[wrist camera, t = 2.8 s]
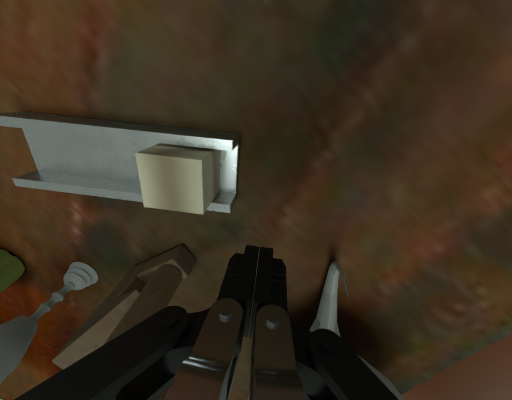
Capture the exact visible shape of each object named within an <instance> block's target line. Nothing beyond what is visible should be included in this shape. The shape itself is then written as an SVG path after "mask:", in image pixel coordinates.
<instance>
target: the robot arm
mask: <svg viewBox="0 0 512 400" xmlns="http://www.w3.org/2000/svg"><path fill="white" fill-rule="evenodd" d="M258 252H259V247H257V246H250V245H246V248H245V253H244V254H238V253H235V254H234V255H233V256H232V257H231V258H230V260H229V263H228V267H227V270H226V274H225V276H224V279H223V283H222V286H221V289H220V292H219V296H218V298H217V301H216V302H215V303H214V304H213V305H212V306H211V307H210V308H208V309H206V310H204V311H201V312H195V313H189V314H188V313H187V311H186V310H185V309H184V308H182V307H180V306H168V307H165V308H163V309H161V310H160V311H158V312H156V313H155V314H153V315H152V316H150V317H148V318H147V319H145V320H143V321H142V322H140V323H138V324H137V325H135V326H134V327H132V328H130V329H129V330H127V331H125V332H124V333H122V334H121V335H119V336H117V337H116V338H114V339H112V340H111V341H109V342H107V343H106V344H104V345H103V346H101V347H99V348H98V349H96V350H94V351H93V352H91V353H90V354H88V355H86V356H85V357H83V358H81V359H80V360H78V361H77V362H75V363H73V364H72V365H70V366H68V367H67V368H65V369H63V370H62V371H60V372H59V373H57V374H55V375H54V376H52V377H50V378H49V379H47V380H46V381H44V382H42V383H41V384H39V385H37V386H36V387H34V388H32V389H31V390H29V391H28V392H26V393H24V394H23V395H21V396H19V397H18V398H16V399H15V400H156V399H158V398H159V397H160V396H161V395H162V394H163V393H164V392H165V391H167V390H168V389H169V388H170V387H171V388H170V390H169V392H168V395H167V397H166V399H165V400H229V397H230V393H231V388H232V384H233V380H234V375H235V371H236V367H237V362H238V358H239V353H240V351H241V347H242V340H243V336H245V337H248V330H249V323H250V315H251V308H252V316H251V324H250V333H249V337H253V345H252V354H251V370H250V395H249V400H399V399H398V398H397V397H396V396H395V395H394V394H393V393H392V392H391V391H390V390H389V389H388V388H387V386H386V385H385V384H384V383H383V382H382V381H381V380H380V379H379V378H378V377H377V376H376V375H375V374H374V373H373V372H372V370H371V369H370V368H369V367H368V366H367V365H366V364H365V363H364V362H363V361H362V360H361V359H360V358H359V357H358V355H357V354H356V353H355V352H354V351H353V350H352V349H351V348H350V347H349V346H348V345H347V344H346V343H345V342H344V341H343V339H342V338H341V337H340V336H339V335H337V334H336V333H335V332H333V331H331V330H329V329H324V328H320V329H317V330H315V331H314V332H311V331H309V330H307V329H305V328H303V327H301V326H299V325H298V324H296V323H295V322H294V321H293V320H292V318H291V317H290V315H289V313H288V309H287V286H286V266H285V264H284V262H283V261H282V259H276V258H273V248H265V247H260V253H259V260H258ZM257 261H258V268H257ZM256 270H257V276H256ZM255 278H256V283H255ZM254 285H255V291H254ZM253 293H254V299H253ZM252 300H253V307H252Z"/></svg>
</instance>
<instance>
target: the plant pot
mask: <svg viewBox="0 0 512 400" xmlns="http://www.w3.org/2000/svg"><path fill="white" fill-rule="evenodd" d="M24 271H25V268H24V265H23V263H22V262H21V261H20V259H19V258H17V257H15V256H12V255H10V254H9V253H8V251H6V250H2V249H0V293H2V292H3V291H4V290H5V289H6V288H7V287H8V286H10V285H11V284H12V283H13V282H14V281H15V280H17V279H18V278H19V277H20V276H21V275H22V274H23V272H24Z"/></svg>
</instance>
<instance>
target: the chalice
mask: <svg viewBox="0 0 512 400" xmlns="http://www.w3.org/2000/svg"><path fill="white" fill-rule="evenodd" d="M97 280H98V275H97V273H96V272H95V270H94V269H93V268H91V267H90V266H89V265H87V264H85V263H81V262H74V263H72V264H71V265H70V267H69V269H68V270H67V272H66V274H65V275H64V279H63V281H64V283H65V284H64V285H65V286H64V287H63V288H62V289H61V290H60V291H58V292H55V293H52V297H51V299H50V300H49V301H47V302H45V303H43V304H40V307H39V309H38V310H37V311H36V312H35V313H34V314H33V315H31V316H30V317H25V316H20V317H18V318H15V319H13V320H11V321H8V322H6V323H4V324H1V325H0V383H1V382H2V381H3V380H4V379H5V378H6V377H7V376H8V375H9V374H10V373H11V372H12V371H13V370H14V369H15V368H16V367H17V365H18V364H19V362H20V361H21V359H22V357H23V356H24V354H25V353H26V351H27V349H28V347H29V345H30V343H31V341H32V339H33V337H34V335H35V333H36V331H37V329H38V325H37V323H36V321H37V320H38V319H39V317H40V316H42V315H43V314H45V313H46V312H49V311H51V308H52V306H53V305H54V304H55V303H56V302H58V301H62V300H63V296H64V295H65V294H66V292H68V291H70V290H80V289H84V288H85V287H88V286H89V285H91V284H94V283H96V282H97Z"/></svg>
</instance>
